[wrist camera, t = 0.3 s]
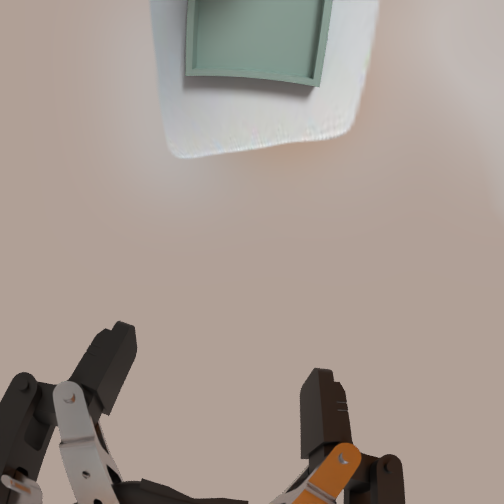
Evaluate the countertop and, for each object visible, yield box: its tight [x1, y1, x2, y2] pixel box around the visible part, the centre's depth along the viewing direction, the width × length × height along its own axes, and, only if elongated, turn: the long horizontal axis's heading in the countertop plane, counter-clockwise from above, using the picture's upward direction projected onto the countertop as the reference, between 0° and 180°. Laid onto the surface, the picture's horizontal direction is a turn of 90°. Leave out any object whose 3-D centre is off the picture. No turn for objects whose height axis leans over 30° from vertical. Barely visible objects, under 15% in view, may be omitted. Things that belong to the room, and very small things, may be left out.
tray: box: [185, 0, 333, 87], centre depth 21 cm, size 15×15×2 cm
